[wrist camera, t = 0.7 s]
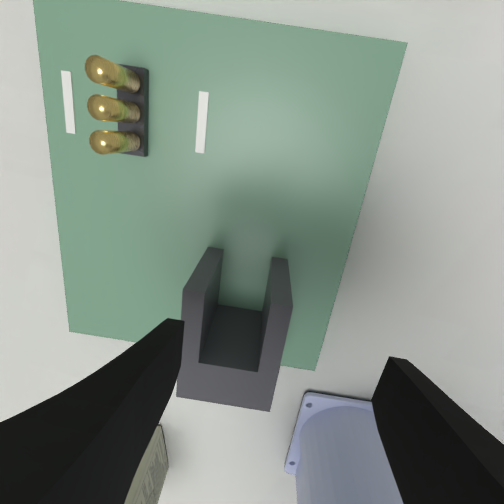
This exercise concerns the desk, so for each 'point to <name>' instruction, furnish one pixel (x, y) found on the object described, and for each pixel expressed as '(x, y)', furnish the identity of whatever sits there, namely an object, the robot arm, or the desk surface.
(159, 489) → the skincare box
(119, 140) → the pin header
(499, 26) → the desk surface
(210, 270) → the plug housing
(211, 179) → the circuit board
